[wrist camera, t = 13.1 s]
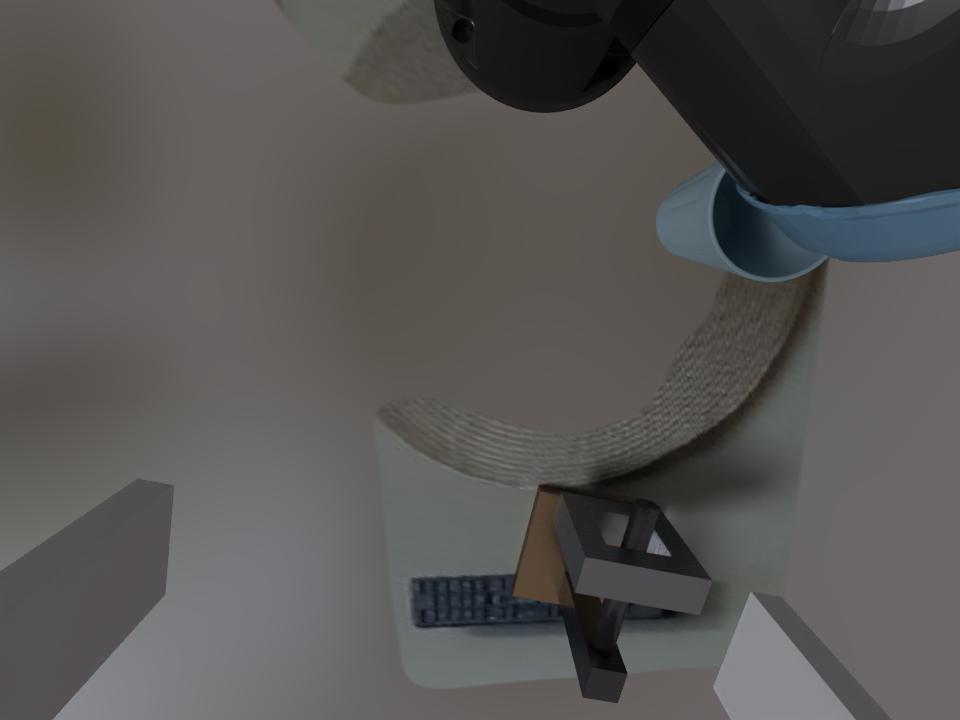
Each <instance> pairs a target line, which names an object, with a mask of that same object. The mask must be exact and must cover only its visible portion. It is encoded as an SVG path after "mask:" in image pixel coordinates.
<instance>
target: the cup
mask: <svg viewBox="0 0 960 720" xmlns="http://www.w3.org/2000/svg"><path fill="white" fill-rule="evenodd" d="M656 229H657V234H658V237H659V240H660V241H661V243H662V244H663V245H664V247H665V248H666V249H667V250H668V251H669V252H670V253H672V254H674V255H676V256H679V257H682V258H685V259H688V260H691V261H694V262H698V263H701V264H704V265H708V266H711V267H715V268H718V269H721V270H725V271H728V272H730V273H733V274H736V275H739V276H743V277H746V278H749V279H753V280H757V281H763V282H779V281H786V280H790V279H793V278H796V277H799V276H801V275H804V274H806V273H808V272H809V271H811V270H813V269H814V268H816V267H817V266H819V265H820V264H821V263H822V262H824V261H825V260H826V259H827V258H828V257H829V256H826V255H818V254H813V253H810V252H808V251H806V250H804V249H803V248H801V247H799V246H798V245H796V244H795V243H794V242H792V241H791V240H790V239H789V238H788V237H787V236H786V235H785V234H784V233H783V232H782V231H781V229H780V228H779V227H778V226H777V225H776V224H775V223H774V222H773V221H772V220H771V219H770V218H769V217H768V216H767V215H766V214H765V212H764V211H763V210H762V209H760V208H757V207H755V206H753V205H752V204H750V203H749V202H747V201H746V200H745V199H744V198H743V197H742V196H741V195H740V193H739V192H738V191H737V186H736V182H735V181H734V180H733V178H732V177H731V176H730V175H729V174H728V172H727V171H726V170H725V169H724V168H723V166H722V165H721V164H720V163H719V161H717V162H716V163H714V164H712V165H711V166H709V167H708V168H706V169H704V170H703V171H701V172H699V173H698V174H696V175H694V176H693V177H691V178H690V179H688V180H686V181H685V182H683V183H681V184H680V185H678V186H677V187H675V188H674V189H672V190H671V191H670V192H669V193H668V194H667V196H666V197H665V198H664V200H663V201H662V202H661V204H660V206H659V209H658V213H657V217H656Z"/></svg>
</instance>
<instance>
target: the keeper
mask: <svg viewBox="0 0 960 720" xmlns="http://www.w3.org/2000/svg"><path fill="white" fill-rule="evenodd" d="M561 491H562V492H567V493H572V494H577V495H583V496H588V497H593V498H598V499H603V500H609V501H614V502H619V503H624V504H629V505H633V508H632V511H631V514H630V518H629V521H628V524H627V527H626V530H625V533H624V536H623V540H622V543H621V546H620V545H615V544H609V543H606V545H612V546H617V547H622V548H628V549H633V550H638V551H644V552H647V549H648V546H649V543H650V540H651V536H652V533H653V530H654V527H655V524H656V521H657V518H658V515H659V512H660V508H659V506H657V505H656V504H655V503H653V502H651V501H649V500H646V499H641V498H638V499H635V502H634V504H632V503H626V502H621V501H616V500H611V499H606V498H601V497H595V496H590V495H585V494H580V493H575V492H569V491H564V490H559V489H554V488H549V487H544V486H538V490H537V494H536V498H535V502H534V505H533V509H532V513H531V517H530V520H529V524H528V528H527V532H526V535H525V539H524V543H523V547H522V550H521V554H520V558H519V562H518V566H517V569H516V573H515V577H514V581H513V584H512V596H516V597H521V598H527V599H533V600H538V601H544V602H549V603H555V604H560V607H561V611H562V615H563V619H564V623H565V627H566V631H567V635H568V640H569V644H570V648H571V652H572V656H573V660H574V664H575V668H576V672H577V676H578V680H579V684H580V688H581V692H582V696H583V698H589V699H596V700H602V701H607V702H614V703H618V700H619V698H620V695H621V692H622V689H623V686H624V683H625V680H626V677H627V671H626V668H625V665H624V663H623V660H622V657H621V654H620V652H619V649H618V646H617V644H616V642H617V639H618V636H619V633H620V630H621V627H622V624H623V621H624V618H625V615H626V612H627V609H628V606H629V602H624V601H618V600H613V599H607V598H602V597H596V596H591V595H585V594H579V593H575V591H574V588H573V584H572V581H571V578H570V574H569V571H568V568H567V564H566V561H565V558H564V554H563V551H562V548H561V544H560V541H559V538H558V534H557V531H556V528H555V524H554V521H553V520H554V516H555V512H556V509H557V505H558V502H559V498H560V494H561Z"/></svg>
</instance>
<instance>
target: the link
mask: <svg viewBox="0 0 960 720" xmlns="http://www.w3.org/2000/svg"><path fill="white" fill-rule="evenodd" d="M632 508H633V505H629V504H624V503H619V502H614V501H609V500H603V499H598V498H593V497H588V496H583V495H577V494H572V493H567V492H562V491H561V494H560V498H559V502H558V505H557V509H556V512H555V516H554V520H553V521H554V524H555V528H556V531H557V534H558V538H559V541H560V544H561V548H562V551H563V554H564V558H565V561H566V564H567V568H568V571H569V574H570V578H571V581H572V584H573V588H574V591H575V593H579V594H585V595H591V596H596V597H602V598H607V599H613V600H618V601H624V602H629V603H635V604H641V605H646V606H652V607H657V608H663V609H668V610H674V611H679V612H685V613H691V614H696V615H700V613H701V610H702V608H703V605H704V602H705V600H706V597H707V594H708V592H709V589H710V586H711V583H712V579H711V578H710V576H709V575H708V574H707V572H706V571H705V570H704V568H703V567H702V566H701V564H700V563H699V561H698V560H697V559H696V557H695V556H694V555H693V553H692V552H691V550H690V549H689V548H688V546H687V545H686V544H685V542H684V541H683V540H682V538H681V537H680V535H679V534H678V533H677V531H676V530H675V529H674V527H673V526H672V524H671V523H670V522H669V520H668V519H667V518H666V516H665V515H664V514H663V512H662V511H660V512H659V515H658V518H657V521H656V524H655V527H654V530H653V533H652V536H651V540H650V543H649V546H648V549H647V552H644V551H638V550H633V549H628V548H622V547H617V546H612V545H606V543H609V544H615V545H620V546H621V543H622V540H623V536H624V533H625V530H626V527H627V524H628V521H629V518H630V514H631V511H632Z"/></svg>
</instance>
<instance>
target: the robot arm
mask: <svg viewBox="0 0 960 720" xmlns="http://www.w3.org/2000/svg"><path fill="white" fill-rule="evenodd" d="M434 4H435V10H436V15H437V20H438V23H439V27H440V30H441V33H442V36H443V38H444V41H445V43H446V45H447V47H448V49H449V51H450V53H451V55H452V57H453V58H454V60H455V62H456V63H457V65H458V66H459V67H460V69H461V70H462V71H463V73H464V74H465V75H466V76H467V77H468V78H469V79H470V80H471V81H472V82H473V83H474V84H475V85H476V86H477V87H478V88H479V89H481V90H482V91H483V92H484V93H486V94H487V95H489V96H490V97H492V98H494V99H495V100H497V101H499V102H501V103H503V104H505V105H508V106H510V107H513V108H517V109H520V110H524V111H529V112H537V113H538V112H539V113H551V112H560V111H565V110H570V109H574V108H577V107H580V106H582V105H585V104H587V103H589V102H591V101H593V100H595V99H597V98H599V97H600V96H602V95H603V94H605V93H606V92H608V91H609V90H610V89H611V88H613V87H614V86H615V85H616V84H617V83H618V82H620V81H621V80H622V79H623V77H624V76H625V75H626V74H627V73H628V72H629V71H630V70H631V69H632V67H633V66H634V65H635V64H636V63H638V64H639V66H640V67H641V68H642V69H643V70H644V72H645V73H646V74H647V75H648V77H649V78H650V79H651V80H652V81H653V82H654V84H655V85H656V86H657V87H658V89H659V90H660V91H661V92H662V94H663V95H664V96H665V97H666V98H667V99H668V101H669V102H670V103H671V104H672V106H673V107H674V108H675V109H676V110H677V112H678V113H679V114H680V115H681V117H682V118H683V119H684V120H685V121H686V123H687V124H688V125H689V126H690V127H691V128H692V130H693V131H694V132H695V133H696V135H697V136H698V137H699V138H700V140H701V141H702V142H703V143H704V144H705V146H706V147H707V148H708V149H709V150H710V152H711V153H712V154H713V155H714V157H715V158H716V159H717V160H718V161H719V163H720V164H721V165H722V166H723V168H724V169H725V170H726V171H727V172H728V174H729V175H730V176H731V177H732V178H733V180H734V181H735V182H736V186H737V191H738V192H739V193H740V195H741V196H742V197H743V198H744V199H745V200H746V201H747V202H749V203H750V204H752V205H753V206H755V207H757V208H760V209H762V210H763V211H764V212H765V214H766V215H767V216H768V217H769V218H770V219H771V220H772V221H773V222H774V223H775V224H776V225H777V226H778V227H779V228H780V229H781V231H782V232H783V233H784V234H785V235H786V236H787V237H788V238H789V239H790V240H791V241H792V242H794V243H795V244H796V245H798V246H799V247H801V248H803V249H804V250H806V251H808V252H810V253H813V254H818V255H826V256H830V257H832V258H836V259H839V260H842V261H849V262H888V261H899V260H908V259H916V258H922V257H928V256H934V255H939V254H944V253H948V252H953V251H957V250H960V0H434ZM173 490H174V485H168V484H163V483H158V482H152V481H147V480H142V479H137V480H135V481H134V482H132V483H130V484H129V485H127V486H126V487H125V488H123V489H122V490H120V491H119V492H117V493H116V494H114V495H113V496H111V497H110V498H108V499H107V500H105V501H104V502H102V503H101V504H99V505H98V506H96V507H95V508H93V509H92V510H91V511H89V512H87V513H86V514H85V515H83V516H82V517H80V518H79V519H77V520H76V521H74V522H73V523H71V524H70V525H68V526H67V527H65V528H64V529H62V530H61V531H59V532H58V533H57V534H55V535H53V536H52V537H50V538H49V539H47V540H46V541H44V542H43V543H42V544H40V545H39V546H37V547H36V548H34V549H33V550H31V551H30V552H28V553H27V554H25V555H24V556H22V557H21V558H19V559H18V560H16V561H15V562H13V563H12V564H10V565H9V566H7V567H6V568H4V569H3V570H1V571H0V720H52V719H53V718H54V717H55V716H56V715H57V714H58V713H59V712H60V711H61V709H62V708H63V707H64V706H65V705H66V704H67V703H68V702H69V700H70V699H71V698H72V697H73V696H74V695H75V694H76V693H77V692H78V691H79V689H80V688H81V687H82V686H83V685H84V684H85V683H86V682H87V681H88V679H89V678H90V677H91V676H92V675H93V674H94V672H96V671H97V669H98V668H99V667H100V666H101V665H102V664H103V663H104V662H105V661H106V659H107V658H108V657H109V656H110V655H111V654H112V653H113V652H114V651H115V649H116V648H117V647H118V646H119V645H120V644H121V643H122V642H123V641H124V639H125V638H126V637H127V636H128V635H129V634H130V633H131V632H132V631H133V630H134V628H135V627H136V626H137V625H138V624H139V623H140V622H141V621H142V620H143V618H144V617H145V616H146V615H147V614H148V613H149V612H150V611H151V610H152V608H153V607H154V606H155V605H156V604H157V603H158V602H159V601H160V600H161V598H162V597H163V596H164V595H165V590H166V578H167V566H168V554H169V540H170V529H171V515H172V504H173ZM713 688H714V690H715V692H716V694H717V695H718V697H719V699H720V701H721V703H722V705H723V706H724V708H725V710H726V711H727V714H728V715H729V717H730V719H731V720H891V719H890V717H889V716H888V715H887V714H886V713H885V712H884V711H883V710H882V708H880V706H879V705H878V704H877V703H876V702H875V701H874V700H873V698H872V697H871V696H870V695H869V694H868V693H867V692H866V691H865V690H864V688H863V687H862V686H861V685H860V684H859V683H858V682H857V681H856V679H855V678H854V677H853V676H852V675H851V674H850V673H849V672H848V671H847V670H846V668H845V667H844V666H843V665H842V664H841V663H840V662H839V660H838V659H837V658H836V657H835V656H834V655H833V654H832V653H831V651H830V650H829V649H828V648H827V647H826V646H825V645H824V644H823V642H822V641H821V640H820V639H819V638H818V637H817V636H816V635H815V634H814V633H813V631H812V630H811V629H810V628H809V627H808V626H807V625H806V624H805V622H804V621H803V620H802V619H801V618H800V617H799V616H798V615H797V613H796V612H795V611H794V610H793V609H792V608H791V607H790V606H789V604H788V603H787V602H786V601H785V600H784V599H783V598H782V597H778V596H773V595H767V594H762V593H756V592H750V595H749V598H748V600H747V603H746V605H745V608H744V610H743V613H742V615H741V618H740V620H739V623H738V626H737V628H736V631H735V633H734V636H733V638H732V641H731V643H730V646H729V648H728V651H727V654H726V656H725V659H724V661H723V664H722V666H721V669H720V671H719V674H718V676H717V679H716V682H715V684H714V687H713Z"/></svg>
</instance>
